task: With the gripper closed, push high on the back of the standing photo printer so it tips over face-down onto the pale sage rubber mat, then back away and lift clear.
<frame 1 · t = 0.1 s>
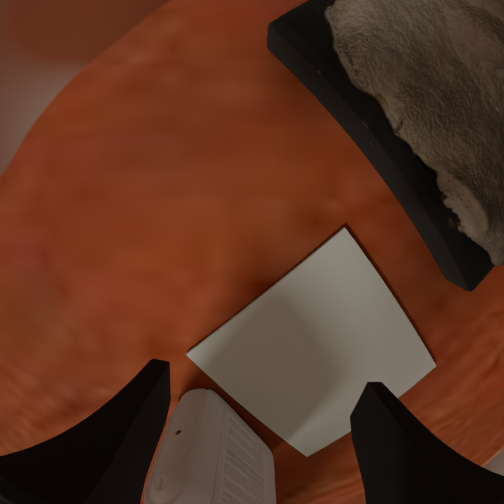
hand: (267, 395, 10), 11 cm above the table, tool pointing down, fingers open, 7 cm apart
photo printer: (226, 427, 23), on the table
coral: (438, 81, 18), on the table
mat: (325, 365, 22), on the table
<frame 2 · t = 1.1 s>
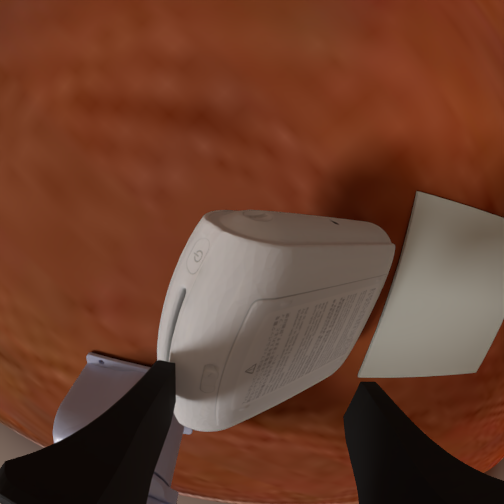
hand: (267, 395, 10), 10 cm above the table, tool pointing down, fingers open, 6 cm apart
photo printer: (348, 298, 19), point 1 cm above the table, touching gripper
mat: (458, 301, 21), on the table
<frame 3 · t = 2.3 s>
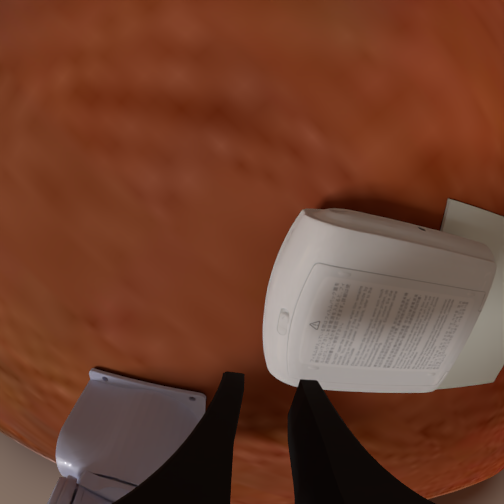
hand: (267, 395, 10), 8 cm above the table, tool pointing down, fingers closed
photo printer: (460, 319, 16), point 3 cm above the table, touching mat
mat: (482, 312, 19), on the table
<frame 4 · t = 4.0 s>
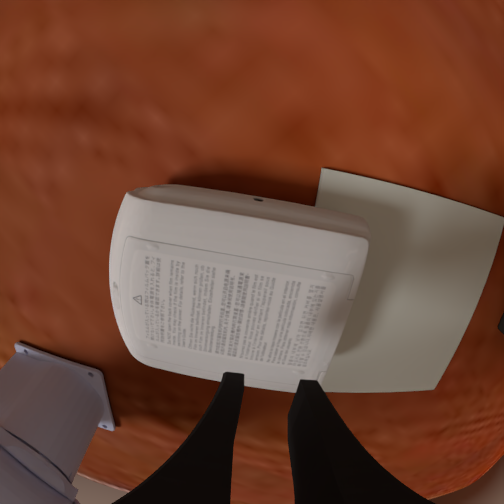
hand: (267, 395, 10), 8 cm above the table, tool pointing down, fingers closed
photo printer: (345, 310, 16), point 3 cm above the table, touching mat
mat: (398, 306, 18), on the table
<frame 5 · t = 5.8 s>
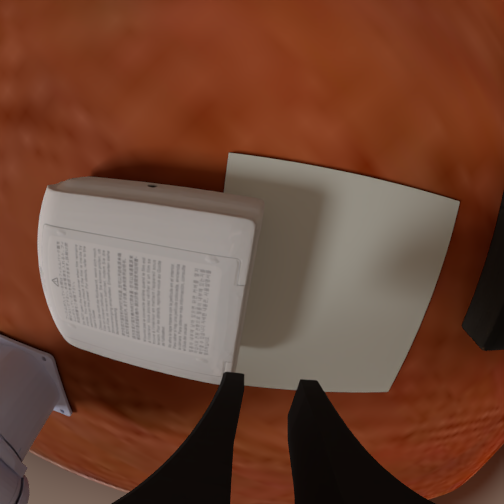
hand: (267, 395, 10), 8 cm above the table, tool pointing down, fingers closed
photo printer: (253, 299, 15), point 3 cm above the table, touching mat
mat: (330, 299, 18), on the table
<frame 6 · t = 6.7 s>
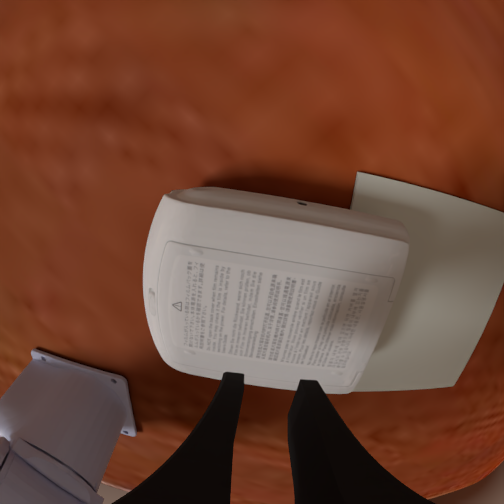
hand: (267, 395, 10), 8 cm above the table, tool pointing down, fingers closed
photo printer: (380, 312, 15), point 3 cm above the table, touching mat
mat: (424, 306, 18), on the table
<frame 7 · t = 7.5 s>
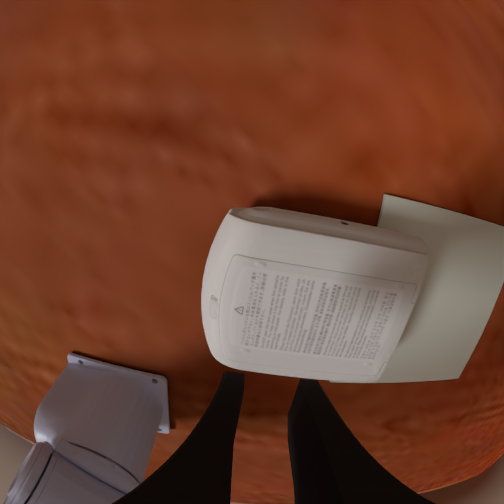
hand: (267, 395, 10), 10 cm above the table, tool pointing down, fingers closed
photo printer: (401, 312, 18), point 3 cm above the table, touching mat
mat: (434, 307, 21), on the table
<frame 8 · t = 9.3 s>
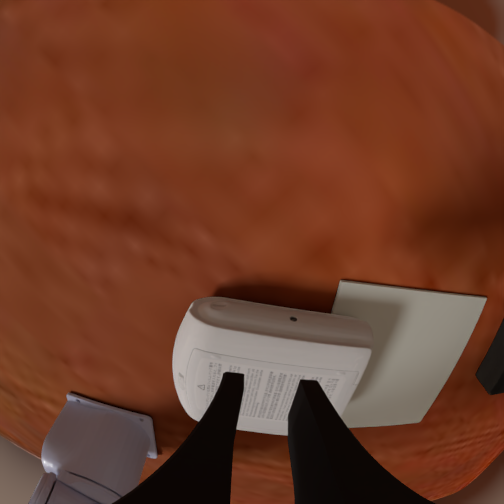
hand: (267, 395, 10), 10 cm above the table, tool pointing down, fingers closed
photo printer: (351, 382, 20), point 3 cm above the table, touching mat
mat: (392, 369, 23), on the table
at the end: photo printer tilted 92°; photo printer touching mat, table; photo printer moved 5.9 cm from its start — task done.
